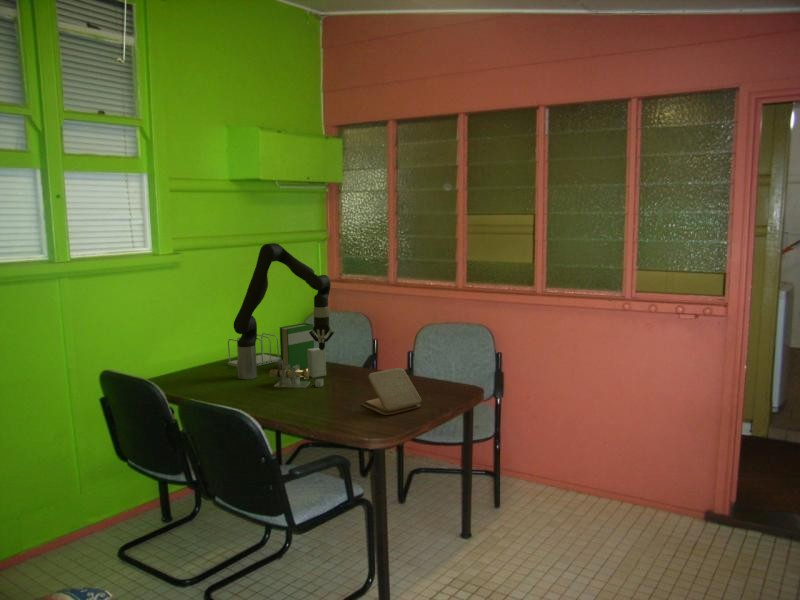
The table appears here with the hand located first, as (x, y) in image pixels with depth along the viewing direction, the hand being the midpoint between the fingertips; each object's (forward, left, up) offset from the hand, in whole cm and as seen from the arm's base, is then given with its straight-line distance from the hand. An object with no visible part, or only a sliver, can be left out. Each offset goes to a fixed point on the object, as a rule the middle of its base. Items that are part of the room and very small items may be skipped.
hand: (322, 349), depth 324 cm
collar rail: (-12, 0, -18) cm, 22 cm away
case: (+39, -31, -19) cm, 53 cm away
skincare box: (-8, +19, -19) cm, 28 cm away
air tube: (-17, 0, -15) cm, 23 cm away
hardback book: (-23, +35, -19) cm, 46 cm away
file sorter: (-52, +45, -19) cm, 72 cm away
